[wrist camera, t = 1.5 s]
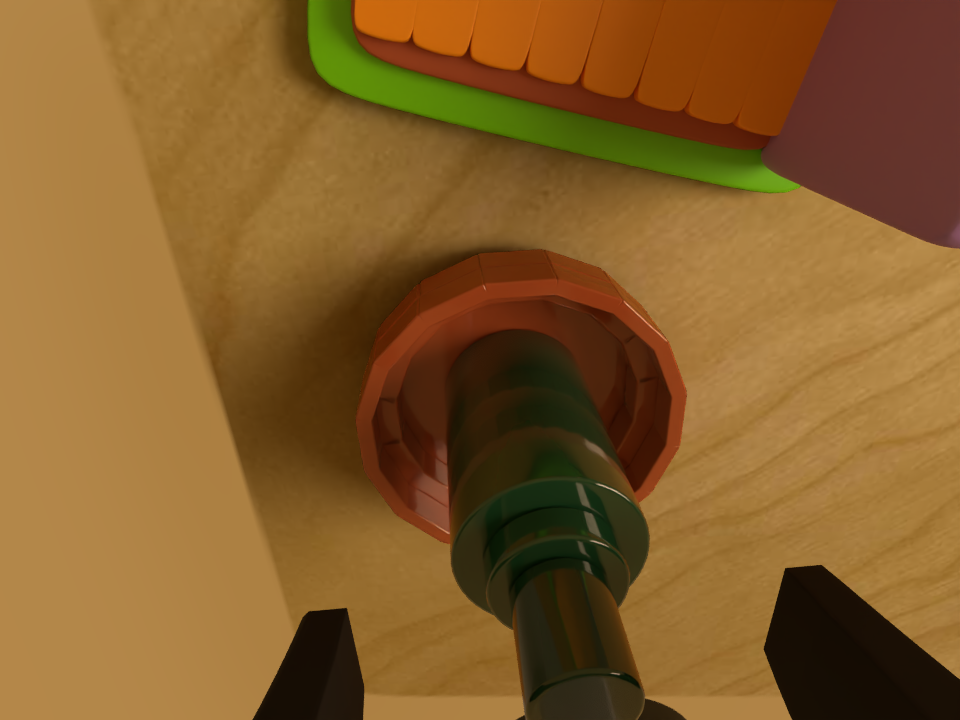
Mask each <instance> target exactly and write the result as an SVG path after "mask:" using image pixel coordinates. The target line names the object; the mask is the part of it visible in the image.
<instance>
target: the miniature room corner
mask: <svg viewBox="0 0 960 720" xmlns="http://www.w3.org/2000/svg"><path fill="white" fill-rule="evenodd" d="M307 39H308V45H309V52H310V58H311V60H312V63H313V65H314V67H315V69H316V71H317V73H318V74H319V75H320V76H321V77H322V78H323V79H324V80H325V81H326V82H327V83H328V84H329V85H330V86H332V87H334V88H336V89H338V90H340V91H342V92H344V93H345V94H348V95H351V96H354V97H357V98H360V99H362V100H365V101H368V102H372V103H375V104H379V105H382V106H386V107H390V108H393V109H397V110H401V111H405V112H408V113H412V114H416V115H420V116H424V117H428V118H432V119H436V120H440V121H444V122H448V123H452V124H456V125H460V126H464V127H468V128H472V129H476V130H480V131H484V132H489V133H493V134H497V135H501V136H505V137H509V138H513V139H518V140H522V141H526V142H530V143H534V144H539V145H543V146H547V147H551V148H556V149H560V150H564V151H568V152H573V153H577V154H581V155H586V156H590V157H594V158H599V159H603V160H607V161H612V162H616V163H621V164H625V165H630V166H634V167H638V168H643V169H647V170H652V171H656V172H661V173H665V174H670V175H675V176H679V177H684V178H688V179H693V180H698V181H702V182H707V183H712V184H717V185H722V186H727V187H732V188H737V189H742V190H748V191H755V192H764V193H784V192H789V191H791V190H794V189H797V188H799V187H800V186H803V187H805V188H807V189H810V190H812V191H814V192H816V193H819V194H821V195H823V196H825V197H827V198H830V199H832V200H834V201H836V202H839V203H841V204H843V205H845V206H847V207H850V208H852V209H854V210H856V211H859V212H861V213H863V214H865V215H867V216H870V217H872V218H874V219H876V220H878V221H881V222H883V223H885V224H887V225H890V226H892V227H894V228H896V229H898V230H901V231H903V232H905V233H907V234H910V235H912V236H914V237H917V238H919V239H921V240H924V241H926V242H929V243H932V244H936V245H939V246H944V247H949V248H960V0H308V2H307Z"/></svg>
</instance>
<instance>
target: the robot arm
mask: <svg viewBox="0 0 960 720" xmlns="http://www.w3.org/2000/svg"><path fill="white" fill-rule="evenodd" d="M764 651H765V654H766V656H767V659H768V662H769V664H770V667H771V670H772V672H773V675H774V677H775V680H776V683H777V685H778V688H779V690H780V692H781V695H782V697H783V700H784V701H785V704H786V707H787V709H788V711H789V714H790V716H791V718H792V720H960V679H959V678H957V677H956V676H955V675H954V674H952V673H951V672H950V671H949V670H947V669H946V668H945V667H944V666H942V665H941V664H940V663H939V662H937V661H936V660H935V659H934V658H933V657H931V656H930V655H929V654H928V653H926V652H925V651H924V650H923V649H922V648H920V647H919V646H918V645H917V644H915V643H914V642H913V641H912V640H911V639H909V638H908V637H907V636H906V635H905V634H903V633H902V632H901V631H900V630H899V629H897V628H896V627H895V626H894V625H893V624H891V623H890V622H889V621H888V620H887V619H886V618H884V617H883V616H882V615H881V614H880V613H878V612H877V611H876V610H875V609H874V608H872V607H871V606H870V605H869V604H868V603H867V602H865V601H864V600H863V599H862V598H861V597H859V596H858V595H857V594H856V593H855V592H853V591H852V590H851V589H850V588H849V587H848V586H846V585H845V584H844V583H843V582H842V581H840V580H839V579H838V578H837V577H836V576H834V575H833V574H832V573H831V572H829V571H828V570H827V569H826V568H825V567H823V566H822V565H815V566H804V567H793V568H785V571H784V575H783V579H782V582H781V586H780V590H779V594H778V597H777V601H776V605H775V609H774V612H773V616H772V620H771V624H770V627H769V631H768V635H767V638H766V642H765V646H764ZM363 707H364V683H363V679H362V674H361V670H360V665H359V661H358V656H357V652H356V647H355V643H354V638H353V634H352V629H351V625H350V620H349V616H348V611H347V608H342V609H331V610H320V611H309V612H308V613H307V614H306V615H305V616H304V617H303V618H302V620H301V623H300V625H299V627H298V629H297V632H296V634H295V636H294V638H293V641H292V643H291V645H290V647H289V649H288V651H287V653H286V656H285V658H284V660H283V662H282V664H281V666H280V668H279V670H278V672H277V674H276V676H275V678H274V680H273V682H272V684H271V686H270V688H269V690H268V692H267V694H266V696H265V698H264V699H263V701H262V704H261V705H260V707H259V709H258V711H257V712H256V715H255V716H254V718H253V720H363Z"/></svg>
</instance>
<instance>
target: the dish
mask: <svg viewBox="0 0 960 720" xmlns="http://www.w3.org/2000/svg"><path fill="white" fill-rule="evenodd" d="M506 330H531V331H535V332H540V333H543V334H545V335H548V336H550V337H552V338H554V339H556V340H558V341H559V342H560V343H562V344H563V345H564V346H566V347H567V348H568V349H569V350H570V351H571V353H572V354H573V355H574V357H575V358H576V360H577V362H578V364H579V366H580V368H581V370H582V373H583V375H584V377H585V380H586V382H587V384H588V387H589V389H590V391H591V394H592V396H593V398H594V401H595V403H596V405H597V408H598V410H599V412H600V415H601V417H602V419H603V421H604V424H605V426H606V428H607V431H608V433H609V435H610V438H611V440H612V442H613V445H614V447H615V449H616V452H617V454H618V456H619V459H620V461H621V463H622V466H623V468H624V470H625V473H626V475H627V477H628V480H629V482H630V484H631V486H632V489H633V491H634V493H635V496H636V498H637V500H638V503H639V502H641V501H642V500H643V499H644V498H646V497H647V496H648V495H649V494H650V493H651V492H652V491H653V490H654V488H655V486H656V485H657V483H658V481H659V480H660V478H661V476H662V475H663V473H664V472H665V470H666V468H667V467H668V465H669V463H670V462H671V460H672V459H673V457H674V455H675V454H676V452H677V450H678V449H679V446H680V442H681V435H682V427H683V420H684V412H685V405H686V397H687V393H686V392H687V391H686V388H685V385H684V383H683V380H682V377H681V374H680V371H679V369H678V366H677V363H676V360H675V358H674V355H673V352H672V349H671V346H670V344H669V342H668V340H667V339H666V337H665V336H664V334H663V333H662V332H661V330H660V329H659V328H658V326H657V325H656V324H655V322H654V321H653V320H652V319H651V317H650V316H649V315H648V313H647V312H646V311H645V309H644V308H643V307H642V305H641V304H640V303H639V302H637V301H636V300H635V299H634V298H633V297H632V296H631V295H630V294H629V293H628V292H627V291H626V290H625V289H623V288H622V287H621V286H620V285H619V284H618V283H617V282H616V281H615V280H614V279H613V278H612V277H611V276H610V275H608V274H607V273H606V272H605V271H602V269H601V268H599V267H596V266H593V265H590V264H587V263H584V262H581V261H578V260H575V259H572V258H569V257H566V256H563V255H560V254H556V253H553V252H550V251H547V250H542V249H537V250H522V251H508V252H493V253H480V254H478V255H475V256H472V257H470V258H468V259H466V260H464V261H462V262H460V263H458V264H456V265H454V266H451V267H449V268H447V269H445V270H443V271H441V272H439V273H437V274H435V275H433V276H430V277H428V278H426V279H424V280H422V281H421V282H420V284H418V285H416V286H415V287H414V288H413V289H412V291H411V292H410V293H409V294H408V295H407V296H406V297H405V298H404V299H403V301H402V302H401V303H400V304H399V305H398V306H397V307H396V308H395V309H394V311H393V312H392V313H391V314H390V315H389V316H388V317H387V318H386V319H385V321H384V322H383V323H382V324H381V326H380V327H379V328H378V330H377V334H376V337H375V340H374V343H373V346H372V350H371V353H370V356H369V359H368V362H367V366H366V369H365V372H364V375H363V380H362V385H361V391H360V396H359V401H358V406H357V412H356V419H355V422H356V427H357V433H358V439H359V444H360V450H361V456H362V462H363V467H364V471H365V473H366V475H367V476H368V478H369V479H370V480H371V482H372V483H373V484H374V486H375V487H376V489H377V490H378V491H379V493H380V494H381V495H382V497H383V498H384V499H385V501H386V502H387V503H388V505H389V506H390V508H391V509H392V510H393V512H394V513H395V514H396V515H397V516H399V517H400V518H402V519H404V520H405V521H407V522H409V523H410V524H412V525H414V526H415V527H417V528H419V529H420V530H422V531H424V532H425V533H427V534H429V535H430V536H432V537H434V538H435V539H437V540H439V541H440V542H443V543H447V544H450V529H449V503H448V478H447V452H446V426H445V401H444V389H445V382H446V379H447V375H448V373H449V371H450V369H451V367H452V365H453V363H454V362H455V360H456V359H457V358H458V357H459V356H460V354H461V353H462V352H463V351H464V350H466V349H467V348H468V347H469V346H470V345H472V344H473V343H475V342H476V341H478V340H480V339H482V338H483V337H485V336H488V335H491V334H493V333H497V332H501V331H506Z"/></svg>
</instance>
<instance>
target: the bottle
mask: <svg viewBox="0 0 960 720" xmlns="http://www.w3.org/2000/svg"><path fill="white" fill-rule="evenodd" d="M444 401H445V426H446V452H447V478H448V503H449V529H450V554H451V567H452V572H453V575H454V577H455V580H456V582H457V584H458V585H459V587H460V589H461V590H462V592H463V593H464V594H465V595H466V596H467V598H468V599H469V600H470V601H472V602H473V603H474V604H475V605H476V606H478V607H479V608H481V609H483V610H484V611H486V612H488V613H490V614H492V615H494V616H495V617H496V618H497V619H498V620H499V621H500V622H501V623H502V624H503V625H505V626H506V627H508V628H509V629H511V630H513V631H514V639H515V646H516V653H517V661H518V668H519V675H520V683H521V690H522V697H523V704H524V712H525V717H526V720H637V719H638V718H639V716H640V715H641V713H642V711H643V708H644V703H645V693H644V689H643V686H642V683H641V679H640V676H639V673H638V670H637V667H636V664H635V661H634V657H633V654H632V651H631V648H630V645H629V642H628V639H627V635H626V632H625V629H624V626H623V623H622V620H621V617H620V613H619V610H618V608H619V607H620V606H621V604H622V603H623V601H624V599H625V598H626V595H627V593H628V589H629V587H630V586H631V585H632V584H633V582H634V581H635V580H636V578H637V577H638V576H639V574H640V572H641V570H642V569H643V567H644V564H645V562H646V559H647V556H648V551H649V541H650V535H649V529H648V525H647V522H646V519H645V517H644V514H643V512H642V510H641V507H640V505H639V503H638V500H637V498H636V496H635V493H634V491H633V489H632V486H631V484H630V482H629V480H628V477H627V475H626V473H625V470H624V468H623V466H622V463H621V461H620V459H619V456H618V454H617V452H616V449H615V447H614V445H613V442H612V440H611V438H610V435H609V433H608V431H607V428H606V426H605V424H604V421H603V419H602V417H601V415H600V412H599V410H598V408H597V405H596V403H595V401H594V398H593V396H592V394H591V391H590V389H589V387H588V384H587V382H586V380H585V377H584V375H583V373H582V370H581V368H580V366H579V364H578V362H577V360H576V358H575V357H574V355H573V354H572V353H571V351H570V350H569V349H568V348H567V347H566V346H564V345H563V344H562V343H560V342H559V341H558V340H556V339H554V338H552V337H550V336H548V335H545V334H543V333H540V332H535V331H531V330H506V331H501V332H497V333H493V334H491V335H488V336H485V337H483V338H482V339H480V340H478V341H476V342H475V343H473V344H472V345H470V346H469V347H468V348H467V349H466V350H464V351H463V352H462V353H461V354H460V356H459V357H458V358H457V359H456V360H455V362H454V363H453V365H452V367H451V369H450V371H449V373H448V375H447V379H446V382H445V389H444Z"/></svg>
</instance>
